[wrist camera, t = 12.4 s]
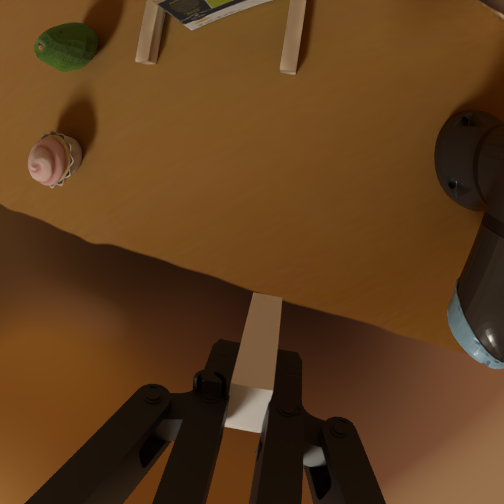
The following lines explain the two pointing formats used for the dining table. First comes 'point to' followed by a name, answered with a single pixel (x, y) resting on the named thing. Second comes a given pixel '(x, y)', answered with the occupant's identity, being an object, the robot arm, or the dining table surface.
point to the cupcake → (54, 158)
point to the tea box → (203, 9)
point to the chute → (155, 21)
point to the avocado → (67, 46)
